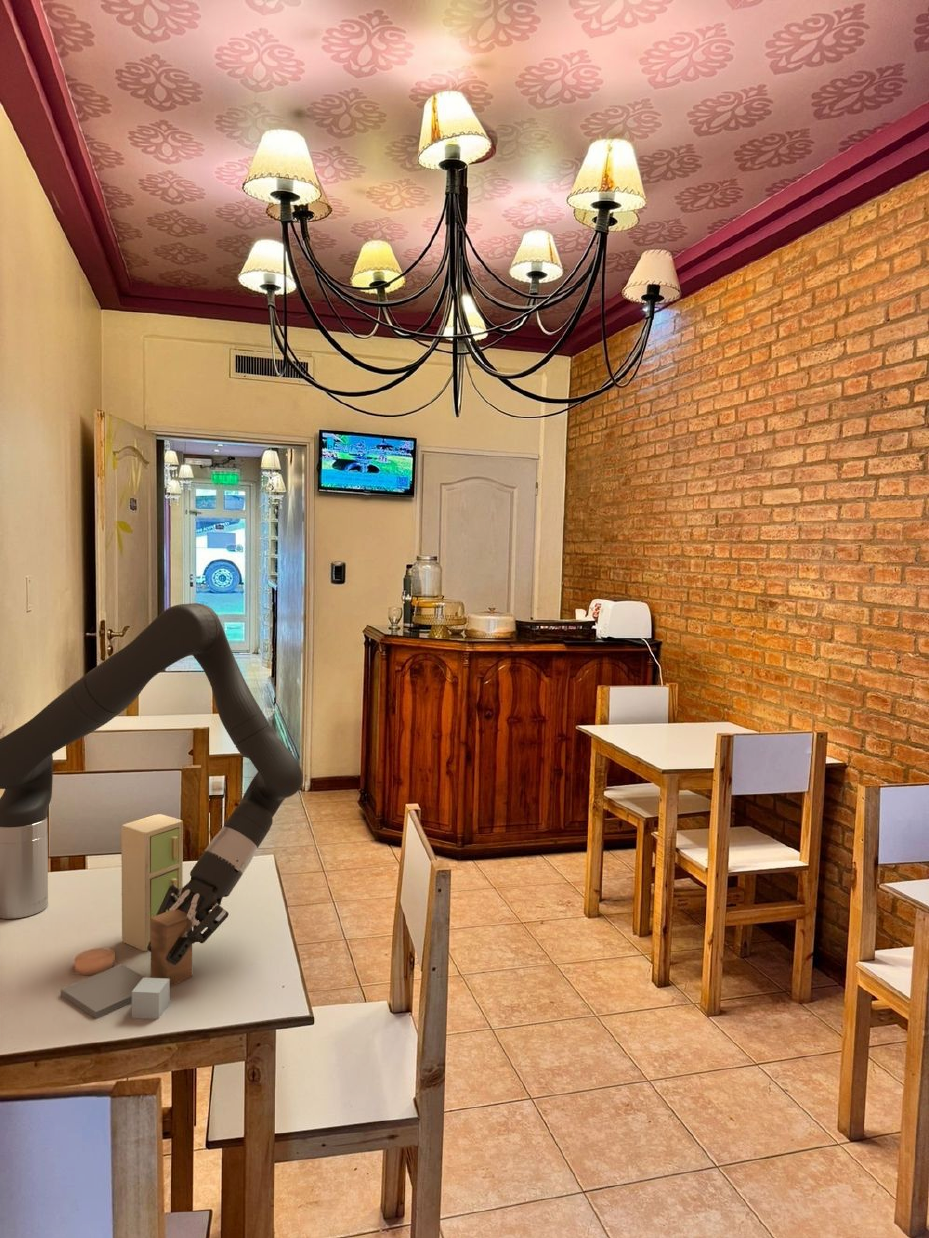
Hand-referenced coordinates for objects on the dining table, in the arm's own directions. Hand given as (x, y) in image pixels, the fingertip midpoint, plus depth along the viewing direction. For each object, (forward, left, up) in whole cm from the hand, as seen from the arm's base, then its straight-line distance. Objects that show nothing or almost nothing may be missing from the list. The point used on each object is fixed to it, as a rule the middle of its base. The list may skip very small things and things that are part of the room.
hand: (161, 956), depth 128 cm
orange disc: (-13, +1, -4) cm, 14 cm away
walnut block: (+1, +2, -4) cm, 5 cm away
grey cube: (+4, -7, -4) cm, 9 cm away
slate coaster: (-5, -5, -4) cm, 9 cm away
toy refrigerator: (-10, +12, -4) cm, 16 cm away
